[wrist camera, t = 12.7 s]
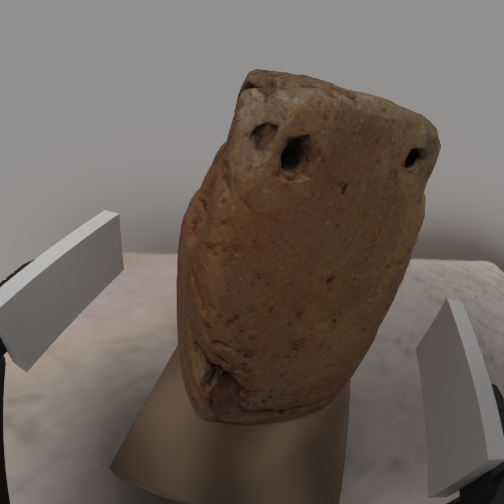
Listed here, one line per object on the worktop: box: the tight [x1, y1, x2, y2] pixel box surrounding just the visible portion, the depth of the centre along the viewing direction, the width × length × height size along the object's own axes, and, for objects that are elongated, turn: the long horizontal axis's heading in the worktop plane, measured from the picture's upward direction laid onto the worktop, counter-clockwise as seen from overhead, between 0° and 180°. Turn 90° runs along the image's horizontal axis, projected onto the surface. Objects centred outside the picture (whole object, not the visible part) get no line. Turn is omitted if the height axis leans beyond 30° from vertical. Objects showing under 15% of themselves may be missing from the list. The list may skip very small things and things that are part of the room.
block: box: [177, 69, 441, 424], centre depth 16 cm, size 11×8×20 cm
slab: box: [109, 346, 350, 504], centre depth 22 cm, size 14×18×5 cm
